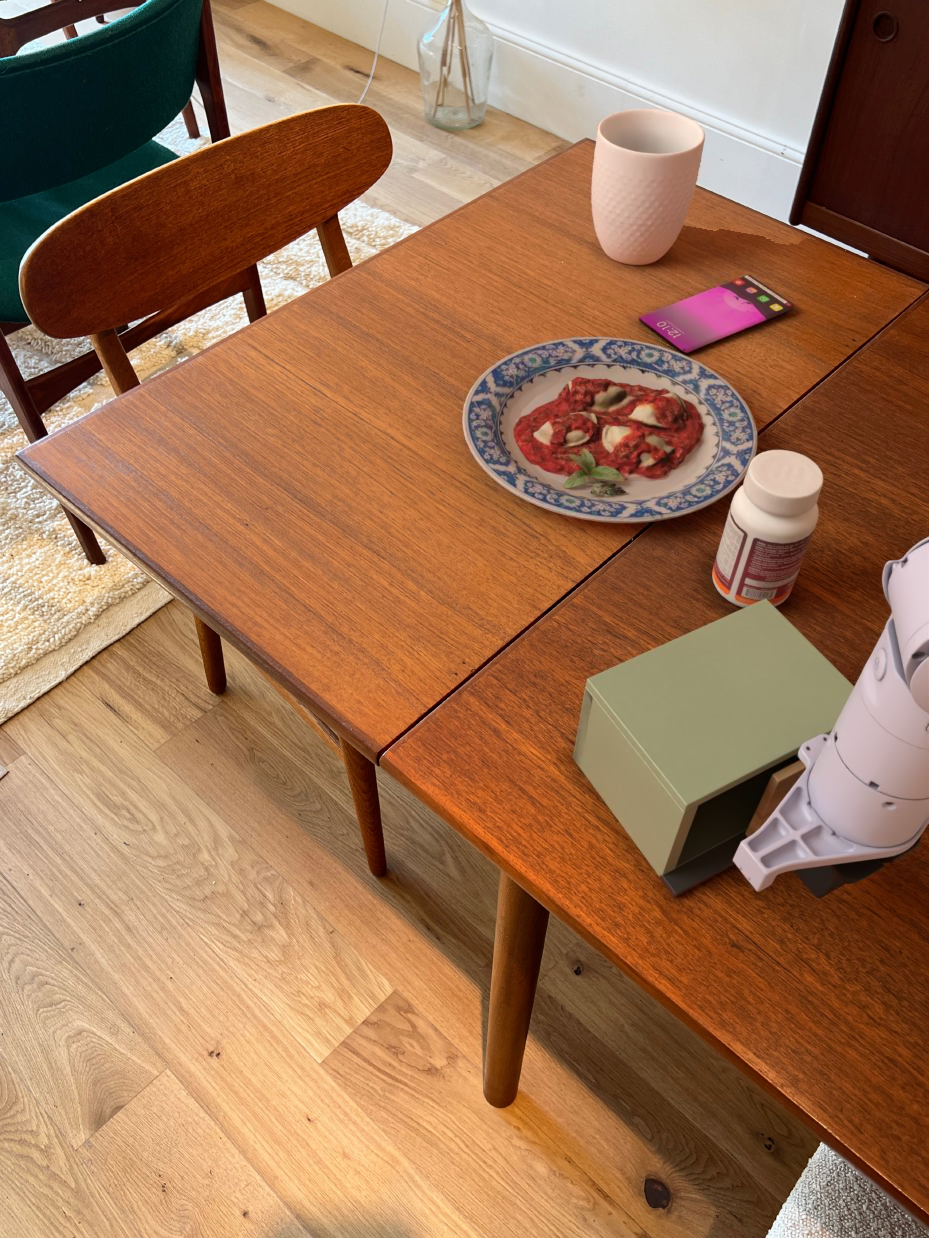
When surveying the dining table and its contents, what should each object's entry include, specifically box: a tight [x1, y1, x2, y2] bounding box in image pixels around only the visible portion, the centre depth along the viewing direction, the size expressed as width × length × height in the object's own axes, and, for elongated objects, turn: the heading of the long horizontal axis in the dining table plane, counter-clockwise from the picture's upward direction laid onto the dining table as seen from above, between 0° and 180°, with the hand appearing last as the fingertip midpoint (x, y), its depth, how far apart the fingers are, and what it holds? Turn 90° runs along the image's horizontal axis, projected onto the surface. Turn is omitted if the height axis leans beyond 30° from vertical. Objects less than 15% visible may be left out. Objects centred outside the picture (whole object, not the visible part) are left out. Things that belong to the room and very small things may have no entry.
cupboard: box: [572, 599, 855, 898], centre depth 63 cm, size 11×14×9 cm
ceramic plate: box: [461, 336, 758, 524], centre depth 88 cm, size 26×26×3 cm
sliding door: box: [745, 760, 806, 837], centre depth 59 cm, size 6×7×7 cm
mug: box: [590, 108, 706, 266], centre depth 107 cm, size 15×11×13 cm
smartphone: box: [638, 274, 795, 355], centre depth 102 cm, size 7×15×1 cm, turn 122°
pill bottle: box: [712, 449, 824, 609], centre depth 73 cm, size 6×6×11 cm
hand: (814, 879), depth 57 cm, fingers closed
